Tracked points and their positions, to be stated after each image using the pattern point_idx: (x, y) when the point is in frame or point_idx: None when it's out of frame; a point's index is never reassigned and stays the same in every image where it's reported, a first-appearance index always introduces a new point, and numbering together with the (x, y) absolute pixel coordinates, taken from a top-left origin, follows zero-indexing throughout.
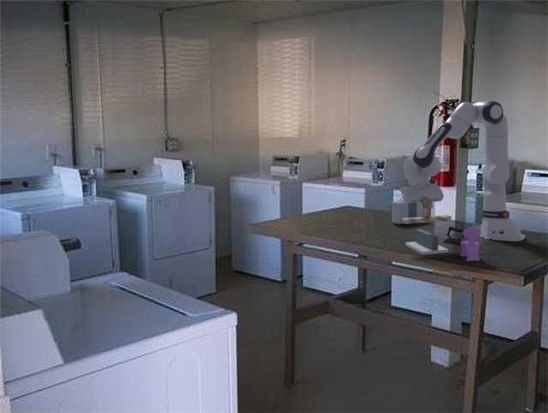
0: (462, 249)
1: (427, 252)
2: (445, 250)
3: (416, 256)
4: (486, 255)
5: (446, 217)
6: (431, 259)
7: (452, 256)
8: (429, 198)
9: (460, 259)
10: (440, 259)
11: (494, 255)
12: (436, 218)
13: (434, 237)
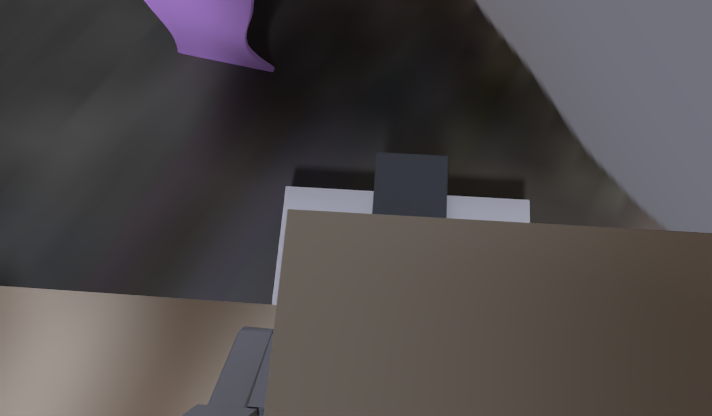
0: (245, 41)
1: (483, 200)
2: (314, 189)
3: (598, 179)
4: (91, 33)
5: (53, 292)
6: (522, 65)
7: (328, 87)
8: (415, 239)
9: (325, 3)
10: (458, 45)
11: (44, 17)
12: (253, 304)
13: (424, 157)
